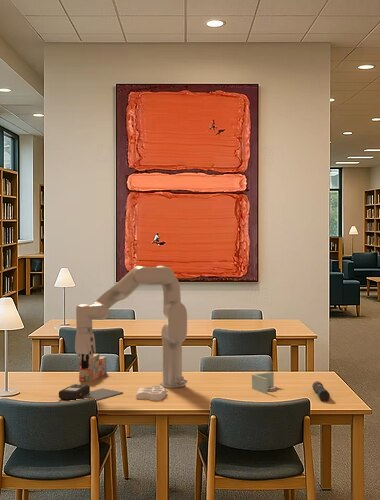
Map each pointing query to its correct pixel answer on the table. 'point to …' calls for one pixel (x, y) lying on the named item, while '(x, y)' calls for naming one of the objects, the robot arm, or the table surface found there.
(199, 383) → the table surface
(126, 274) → the robot arm
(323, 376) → the table surface
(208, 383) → the table surface
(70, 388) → the card reader
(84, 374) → the stack of blocks
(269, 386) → the right angle wall
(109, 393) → the mat
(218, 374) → the table surface
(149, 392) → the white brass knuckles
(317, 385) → the flashlight
